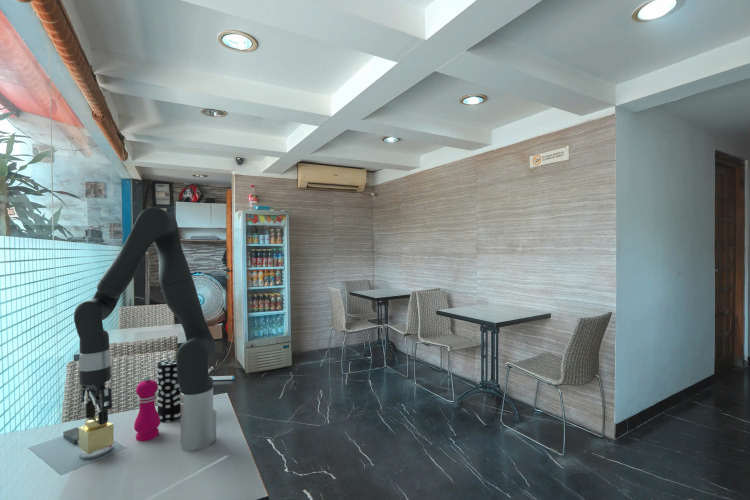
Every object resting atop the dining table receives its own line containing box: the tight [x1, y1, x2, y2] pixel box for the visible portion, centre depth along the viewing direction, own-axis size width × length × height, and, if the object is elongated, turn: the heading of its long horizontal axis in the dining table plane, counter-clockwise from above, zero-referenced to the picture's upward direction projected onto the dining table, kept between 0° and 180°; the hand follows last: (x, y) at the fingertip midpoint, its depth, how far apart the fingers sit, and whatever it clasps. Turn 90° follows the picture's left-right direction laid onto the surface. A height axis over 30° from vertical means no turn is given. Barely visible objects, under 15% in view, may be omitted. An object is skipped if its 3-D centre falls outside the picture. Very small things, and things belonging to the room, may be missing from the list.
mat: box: [28, 435, 127, 476], centre depth 113 cm, size 16×26×1 cm, turn 58°
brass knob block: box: [78, 415, 115, 454], centre depth 110 cm, size 6×6×8 cm
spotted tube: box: [156, 358, 181, 423], centre depth 134 cm, size 8×8×20 cm
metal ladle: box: [62, 427, 113, 460], centre depth 114 cm, size 8×24×6 cm, turn 58°
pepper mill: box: [133, 375, 161, 442], centre depth 119 cm, size 7×7×20 cm
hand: (96, 420), depth 110 cm, fingers open, 8 cm apart
